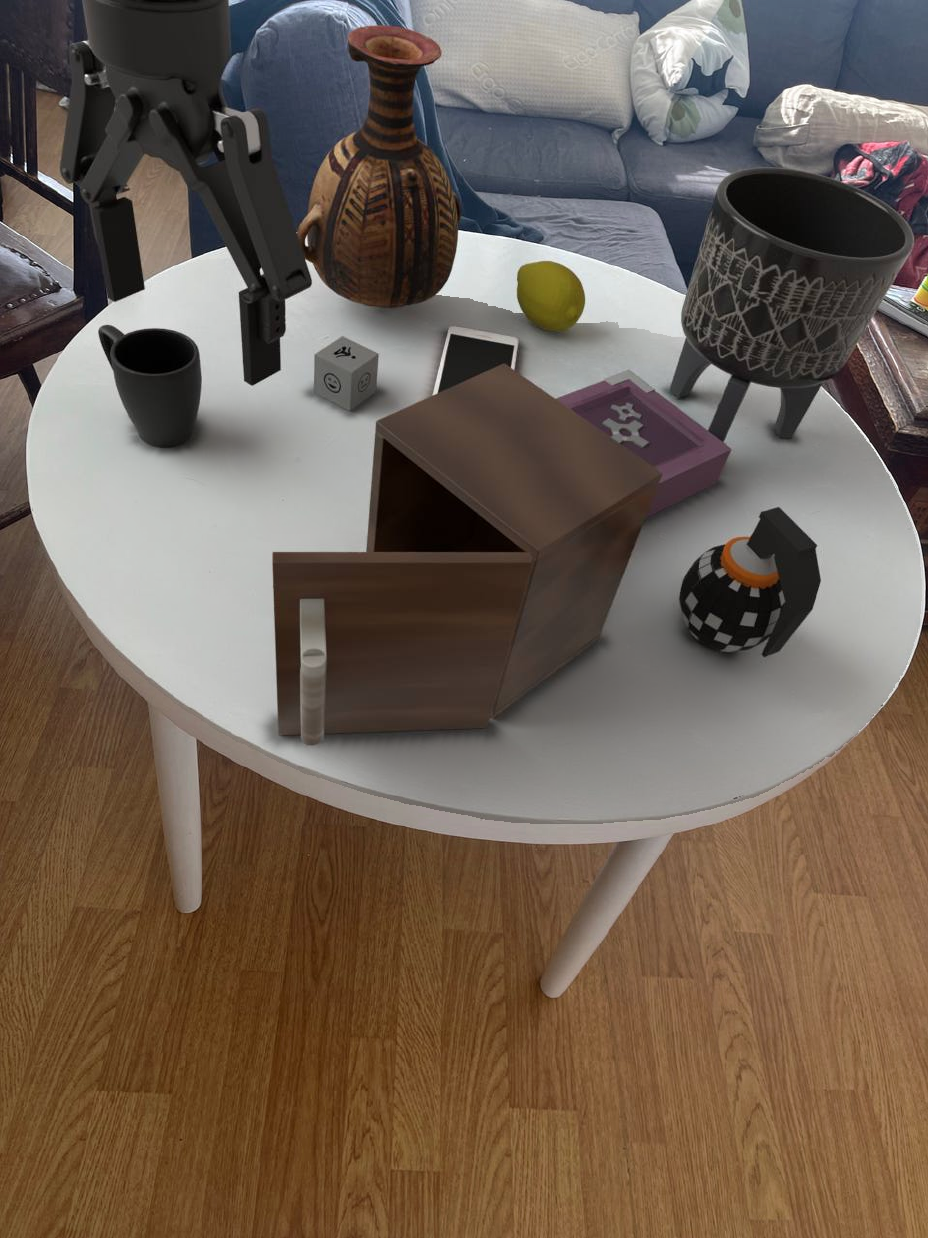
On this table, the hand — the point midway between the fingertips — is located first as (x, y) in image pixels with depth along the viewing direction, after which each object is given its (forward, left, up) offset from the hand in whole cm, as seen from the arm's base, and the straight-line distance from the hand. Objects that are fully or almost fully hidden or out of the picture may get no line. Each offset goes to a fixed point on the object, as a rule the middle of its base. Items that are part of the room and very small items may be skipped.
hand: (192, 333), depth 63 cm
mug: (-4, +23, -25) cm, 34 cm away
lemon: (+46, +38, -25) cm, 65 cm away
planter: (+61, +14, -25) cm, 67 cm away
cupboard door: (+11, -22, -25) cm, 35 cm away
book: (+40, +8, -25) cm, 48 cm away
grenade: (+44, -16, -25) cm, 53 cm away
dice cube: (+17, +26, -25) cm, 40 cm away
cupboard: (+22, -9, -25) cm, 35 cm away
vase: (+25, +44, -25) cm, 57 cm away
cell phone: (+33, +27, -25) cm, 50 cm away
